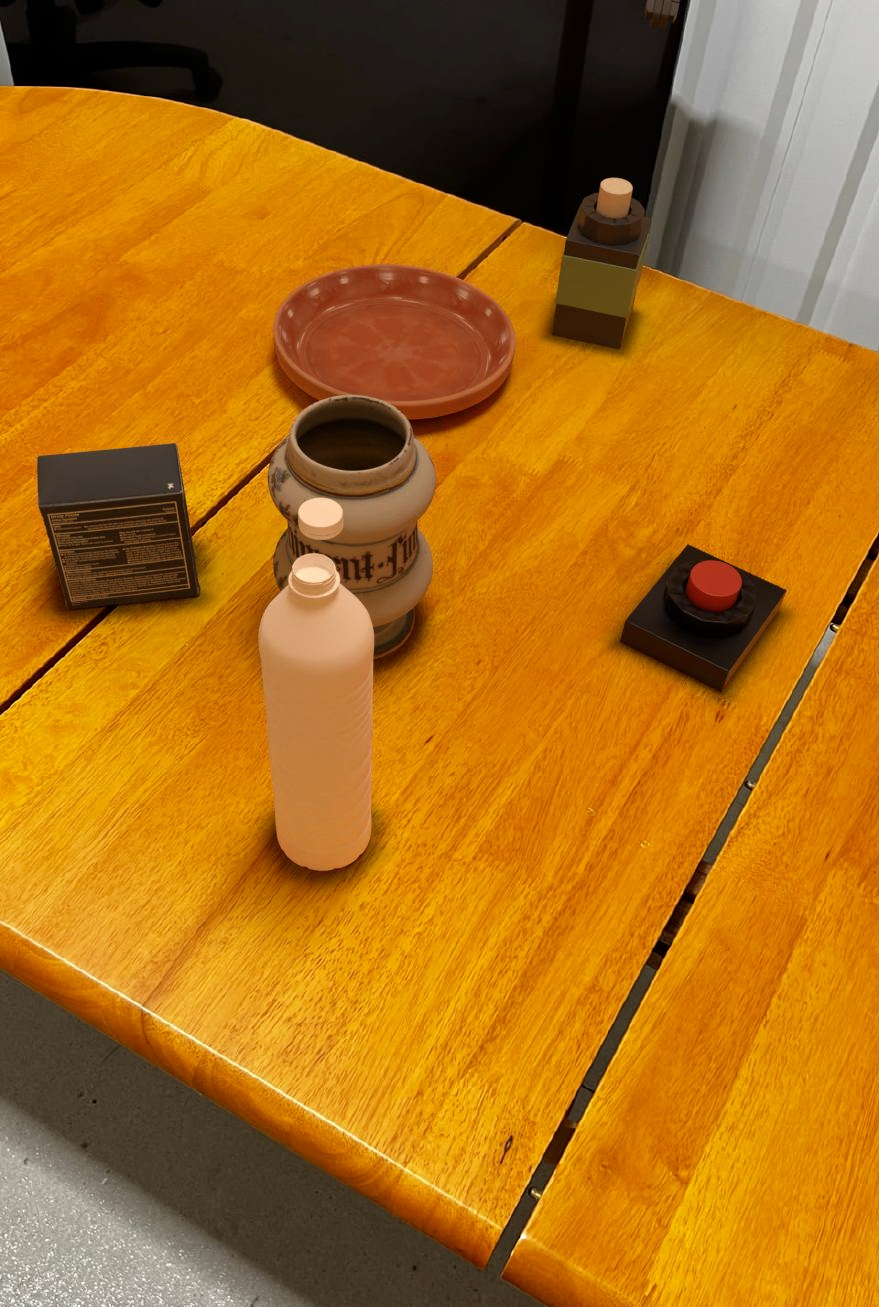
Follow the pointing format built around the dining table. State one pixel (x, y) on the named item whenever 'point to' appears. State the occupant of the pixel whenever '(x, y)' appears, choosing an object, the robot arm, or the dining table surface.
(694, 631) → the button housing
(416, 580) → the apothecary jar
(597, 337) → the pump bottle
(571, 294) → the pump bottle label
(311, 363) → the saucer
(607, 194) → the tan cylindrical peg
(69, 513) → the small box
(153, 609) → the dining table surface
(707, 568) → the bell button
